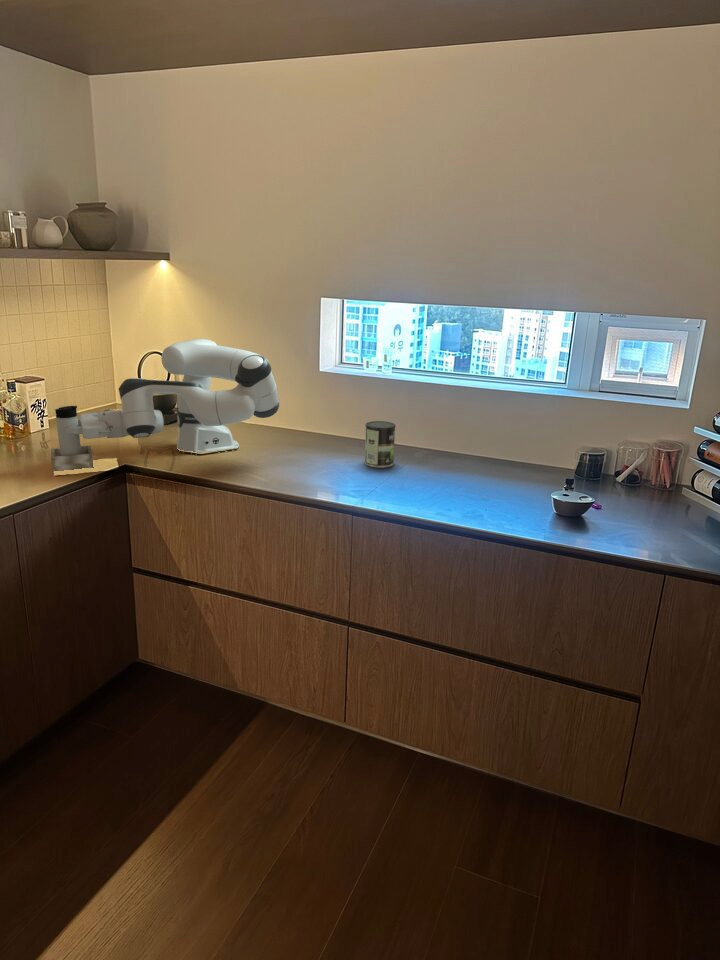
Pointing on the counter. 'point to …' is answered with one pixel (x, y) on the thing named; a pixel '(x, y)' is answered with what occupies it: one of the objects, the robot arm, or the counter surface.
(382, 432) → the coffee can
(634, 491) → the counter surface
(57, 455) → the mug caddy
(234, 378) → the robot arm
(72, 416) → the travel mug
